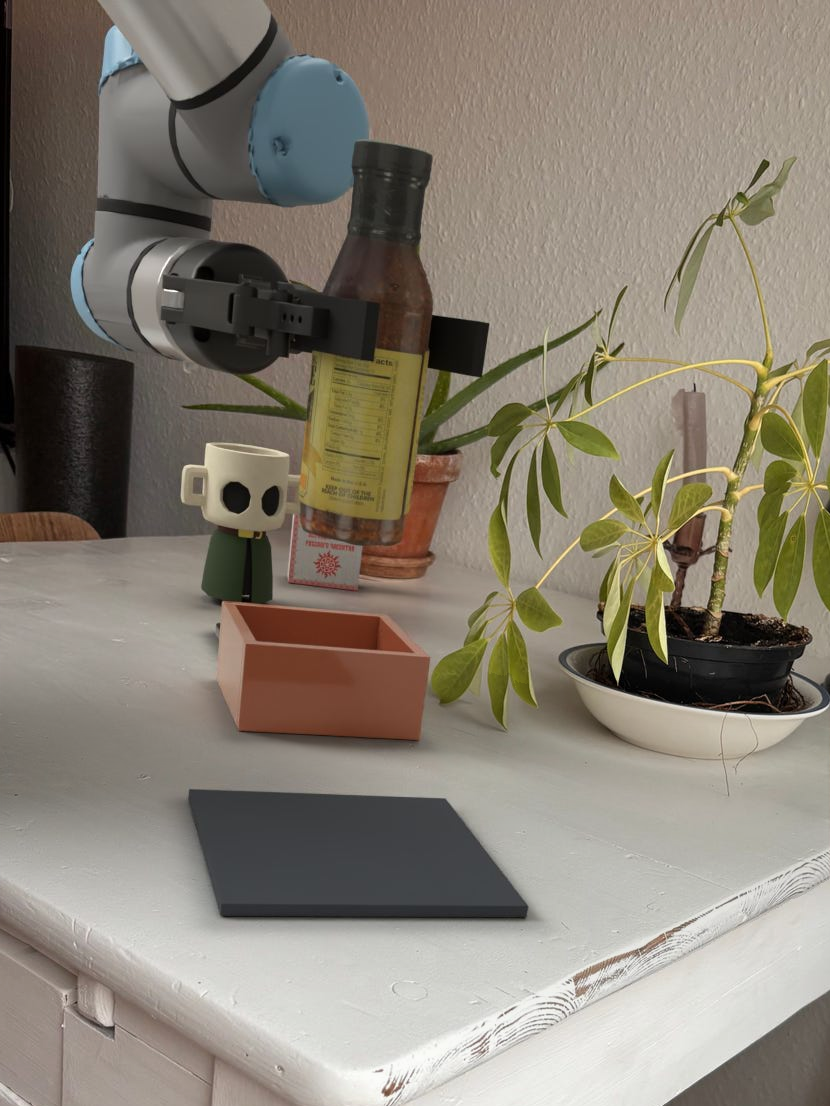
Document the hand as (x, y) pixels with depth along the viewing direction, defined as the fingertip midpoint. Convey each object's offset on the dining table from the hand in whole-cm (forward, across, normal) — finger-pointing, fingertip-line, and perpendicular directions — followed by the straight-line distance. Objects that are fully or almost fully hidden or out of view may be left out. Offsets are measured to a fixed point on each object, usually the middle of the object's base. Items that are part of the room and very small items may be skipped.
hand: (426, 341), depth 65 cm
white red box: (-51, -28, -24) cm, 63 cm away
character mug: (-44, -15, -24) cm, 52 cm away
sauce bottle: (-5, 0, -11) cm, 12 cm away
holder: (-13, -4, -24) cm, 28 cm away
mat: (+9, +7, -24) cm, 26 cm away
